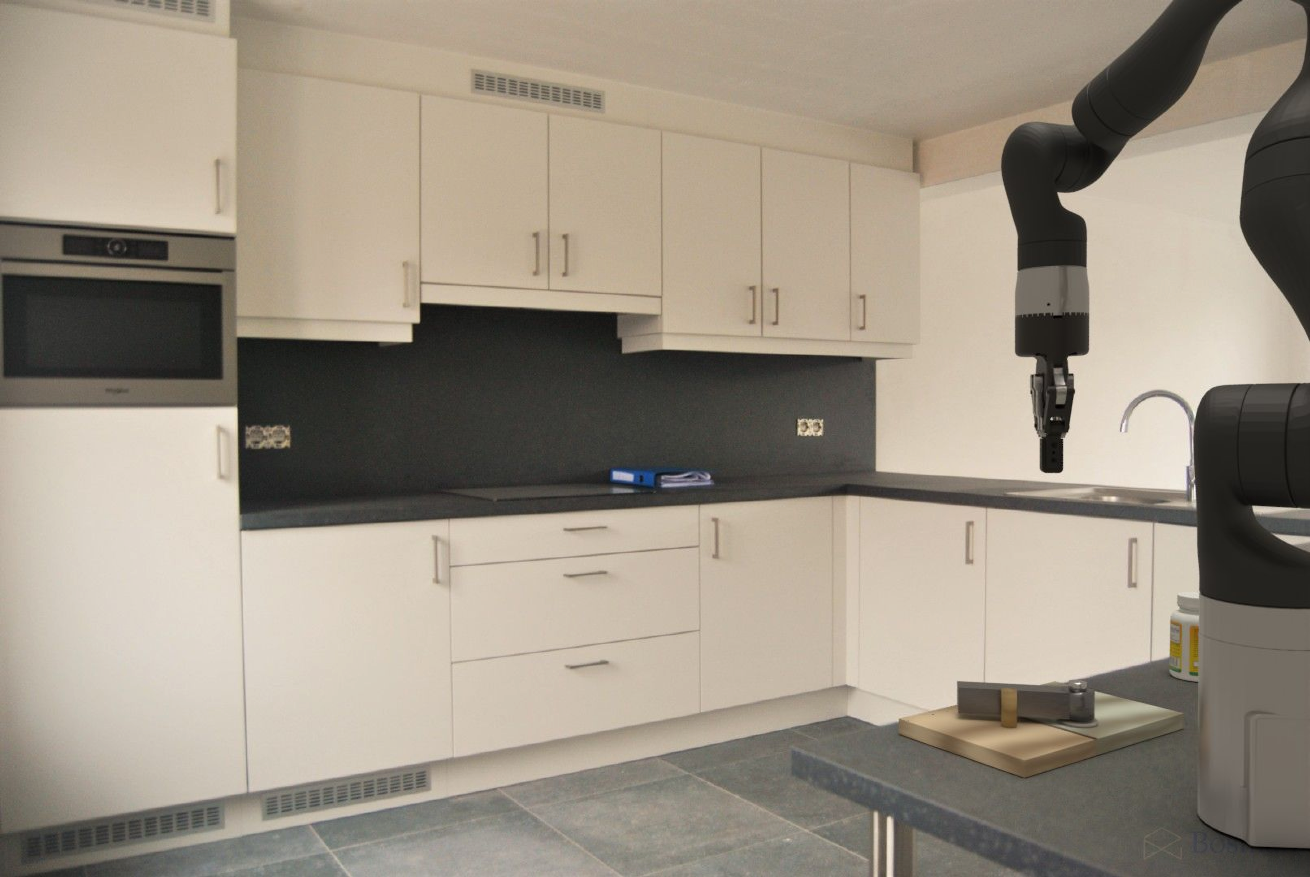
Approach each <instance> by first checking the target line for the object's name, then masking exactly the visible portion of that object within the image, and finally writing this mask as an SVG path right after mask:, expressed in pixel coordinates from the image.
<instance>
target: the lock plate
mask: <svg viewBox="0 0 1310 877" xmlns="http://www.w3.org/2000/svg"><path fill="white" fill-rule="evenodd" d="M1041 685H1047V686H1069V683H1063V682H1060V681H1056V680H1055V681H1051V682H1047V683H1042V684H1041ZM1094 691H1095V719H1094V720H1090V721H1076V720H1070V719H1053V718H1035V717H1017V690H1015V689H1010V688H1004V689H1001V716H1000V715H982V714H964V713H958V709H957V704H955V705H951V706H950V705H949V706H945V707H942V708H938V709H934V710H929V711H926V712H922V713H916V714H913V715H909V716H903V717H901V718H898V735H901V736H904V737H907V738H910V739H913V740H915V741H918V742H921V743H924V744H927V745H929V746H932V747H936V748H938V749H941V750H944V751H947V752H949V753H952V754H956V755H958V756H960V757H964V758H967V759H970V760H972V761H976V762H978V763H981V764H983V765H987V766H990V767H992V768H994V769H995V768H996V769H998V770H1001V771H1004V772H1007V773H1010V774H1013V775H1014V776H1018V777H1022V778H1024V779H1025V778H1029V777H1032V776H1035V775H1038V774H1041V773H1045V772H1048V771H1051V770H1054V769H1058V768H1060V767H1063V766H1067V765H1070V764H1073V763H1077V762H1081V761H1083V760H1087V759H1090V758H1093V757H1096V756H1100V755H1102V754H1106V753H1108V752H1112V751H1116V750H1119V749H1121V748H1125V747H1128V746H1132V745H1135V744H1138V743H1141V742H1145V741H1147V740H1151V739H1155V738H1158V737H1160V736H1163V735H1167V734H1170V733H1173V732H1176V731H1177V732H1178V731H1180V730H1183V729H1184V712H1180V711H1176V710H1172V709H1168V708H1163V707H1160V706H1156V705H1151V704H1148V703H1144V702H1139V701H1135V700H1132V699H1127V698H1123V697H1120V696H1116V695H1112V694H1107V693H1103V692H1100V691H1096V690H1094ZM947 711H948V712H947ZM932 714H934V715H932ZM908 720H909V721H908Z"/></svg>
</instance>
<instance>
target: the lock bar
mask: <svg viewBox="0 0 1310 877" xmlns="http://www.w3.org/2000/svg"><path fill="white" fill-rule="evenodd" d="M1068 685H1069V686H1047V685H1042V684H1023V683H1021V684H1020V683H1005V682H983V681H963V680H962V681H961V680H957V681H956V705H957V709H958V713H964V714H982V715H1000V716H1001V689H1004V688H1010V689H1015V690H1017V717H1035V718H1053V719H1070V720H1076V721H1090V720H1094V719H1095V691H1096V690H1094V689H1092V688H1090V687H1088V681H1085V680H1082V679H1069V680H1068Z"/></svg>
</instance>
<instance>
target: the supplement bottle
mask: <svg viewBox="0 0 1310 877" xmlns="http://www.w3.org/2000/svg"><path fill="white" fill-rule="evenodd" d="M1199 592H1200V591H1198V592H1197V591H1182V592H1178V593H1177V595H1176V596H1177V598H1176V600H1177V601H1176V605H1177V607H1179V609H1176V610H1173V612H1172V613H1171V615H1170V618H1169V619H1170V621H1169V624H1170V625H1169V626H1170V627H1169V664H1168V665H1169V666H1168V667H1169V670H1168V671H1169V673H1170V675H1171V676H1172V677H1174V678H1176V679H1180V680H1182V681H1187V682H1188V681H1189V682H1193V683H1194V682H1198V649H1199Z"/></svg>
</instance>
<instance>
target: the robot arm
mask: <svg viewBox="0 0 1310 877" xmlns="http://www.w3.org/2000/svg"><path fill="white" fill-rule="evenodd" d="M1290 1H1292V2H1293V3H1295V4H1297V5H1299V6H1302V9H1303V10H1304V11H1305V12H1304V13H1305V15H1306V16H1305V17H1306V24H1307V25H1306V27H1307V28H1306V30H1307V31H1306V44H1305V49H1304V50H1305V51H1304V58H1303V62H1302V65H1301V69H1300V71H1299V74H1298V75H1297V77H1296V79H1295V80H1294V81H1293V82H1292V84H1291V85H1290V86H1289V87H1288V88H1287V89H1286V91H1284V93H1283V94H1282V95H1281V96H1280V97H1279V99H1277V101H1276V102H1275V103H1274V104H1273V106H1271V108H1270V109H1269V110H1268V112H1267V113H1266V114H1265V115H1264V116H1263V118H1262V119H1261V121H1260V122H1259V123H1258V125H1257V126H1256V128H1255V129H1254V131H1253V133H1252V135H1251V137H1250V139H1249V142H1248V145H1247V148H1246V152H1245V157H1244V164H1243V172H1242V175H1243V176H1242V183H1241V184H1242V185H1241V194H1240V203H1239V204H1240V205H1239V215H1238V216H1239V227H1240V229H1241V232H1242V235H1243V238H1244V240H1245V242H1246V244H1247V246H1248V247H1249V250H1250V251H1251V252H1252V254H1253V256H1254V258H1255V259H1256V261H1257V262H1258V263H1259V265H1260V266H1261V268H1262V269H1263V270H1264V271H1265V273H1266V274H1267V275H1268V276H1269V278H1270V279H1271V282H1273V283H1274V284H1275V286H1276V287H1277V289H1278V290H1279V291H1280V292H1281V293H1282V295H1283V296H1284V298H1285V299H1286V301H1287V303H1288V304H1289V305H1290V307H1291V308H1292V310H1293V312H1294V314H1295V315H1296V317H1297V320H1298V321H1299V322H1300V325H1301V327H1302V328H1303V331H1304V333H1305V334H1306V337H1307V338H1308V341H1309V342H1310V0H1290ZM1241 2H1243V0H1172V1H1171V2H1170V3H1169V4H1168V5H1167V6H1166V8H1165V9H1164V10H1163V11H1162V13H1161V14H1160V15H1159V16H1158V18H1157V19H1155V21H1154V22H1152V24H1151V25H1150V26H1149V27H1148V28H1147V29H1146V30H1145V31H1144V33H1143V34H1142V35H1140V36H1139V38H1138V39H1137V40H1135V41H1134V42H1133V43H1132V44H1131V45H1130V46H1129V47H1128V48H1127V49H1126V50H1125V51H1123V52H1122V53H1121V54H1120V55H1118V56H1117V57H1116V58H1115V59H1114V60H1112V62H1111V63H1110V64H1108V65H1107V66H1106V67H1105V68H1104V69H1102V71H1100V72H1099V73H1098V74H1097V75H1096V76H1095V77H1094V78H1092V79H1091V80H1090V81H1089V82H1088V83H1087V84H1086V85H1084V87H1082V89H1081V90H1080V91H1079V92H1078V93H1077V94H1076V96H1075V97H1074V99H1073V101H1072V105H1071V117H1072V122H1073V124H1071V125H1069V124H1060V123H1052V122H1044V121H1029V122H1024V123H1022V124H1020V125H1018V126H1017V127H1016V128H1014V129H1013V131H1012V132H1010V134H1009V136H1008V137H1007V140H1006V141H1005V144H1004V146H1003V150H1002V154H1001V162H1000V169H1001V170H1000V172H1001V178H1002V183H1003V187H1004V190H1005V194H1006V199H1007V201H1008V205H1009V209H1010V214H1011V217H1012V221H1013V224H1014V226H1015V230H1016V233H1017V248H1016V250H1017V251H1016V252H1017V256H1016V257H1017V268H1016V269H1017V272H1016V282H1015V290H1014V354H1015V355H1016V356H1017V357H1020V358H1033V359H1035V360H1036V363H1035V373H1034V374H1031V373H1030V374H1029V388H1030V390H1029V393H1030V395H1031V396H1030V397H1031V404H1032V414H1033V419H1034V420H1033V421H1034V424H1033V425H1034V426H1033V427H1034V429H1035V431H1036V435H1037V438H1039V471H1041V472H1042V473H1044V474H1060V473H1062V472H1063V471H1064V439H1066V435H1067V434H1068V433H1069V430H1070V429H1071V428H1070V427H1071V426H1070V425H1071V417H1072V412H1073V404H1074V397H1075V394H1076V389H1075V374H1074V373H1070V372H1069V371H1070V370H1069V360H1068V359H1069V357H1080V356H1081V357H1082V356H1085V355H1088V353H1089V351H1090V284H1089V283H1090V282H1089V278H1088V277H1089V276H1088V263H1087V261H1088V260H1087V259H1088V244H1087V243H1088V228H1087V223H1086V221H1085V219H1084V217H1083V216H1081V215H1079V214H1078V213H1075V212H1073V211H1070V210H1068V209H1067V208H1066V207H1064V206H1063V205H1062V204H1063V203H1062V202H1061V199H1060V197H1059V194H1058V193H1062V194H1069V193H1070V194H1071V193H1077V192H1079V191H1082V190H1084V189H1086V188H1087V187H1089V186H1091V185H1092V184H1094V183H1096V182H1097V181H1098V180H1099V179H1101V178H1102V176H1103V175H1104V174H1105V173H1106V172H1107V170H1108V169H1109V168H1110V167H1111V165H1112V164H1113V162H1114V161H1115V160H1116V159H1117V157H1118V156H1119V155H1120V153H1121V152H1123V149H1124V148H1125V147H1126V145H1127V143H1128V142H1129V141H1130V139H1132V138H1133V137H1135V136H1136V135H1138V133H1140V132H1142V131H1143V130H1144V129H1146V127H1148V126H1149V125H1151V124H1152V123H1153V122H1154V121H1156V120H1157V119H1158V118H1160V117H1161V116H1163V114H1165V113H1166V112H1167V111H1168V110H1170V108H1172V107H1173V106H1174V105H1175V104H1176V103H1177V102H1179V100H1180V99H1181V98H1182V97H1183V96H1184V94H1185V93H1186V92H1187V91H1188V89H1189V88H1190V86H1191V84H1192V83H1193V81H1194V80H1195V77H1196V76H1197V74H1198V71H1199V68H1200V66H1201V64H1202V61H1203V58H1204V55H1205V52H1206V50H1207V47H1208V46H1209V42H1210V40H1211V37H1212V36H1213V34H1214V32H1215V31H1216V28H1217V26H1218V25H1219V24H1220V22H1221V21H1222V20H1223V19H1224V17H1225V16H1226V15H1227V14H1228V13H1229V12H1230V11H1231V10H1233V9H1234V8H1235V7H1236V6H1237V5H1239V4H1240V3H1241ZM1192 438H1193V439H1192V440H1193V441H1192V442H1193V446H1192V447H1193V469H1194V470H1193V473H1194V484H1195V485H1194V487H1195V500H1196V501H1195V503H1196V504H1195V506H1196V549H1197V561H1198V562H1197V563H1198V574H1199V575H1198V577H1199V579H1198V580H1199V582H1198V584H1199V585H1198V592H1199V649H1198V683H1197V696H1198V697H1197V815H1198V816H1199V818H1200V819H1201V821H1203V822H1204V823H1205V824H1207V825H1208V826H1210V827H1211V828H1213V829H1215V830H1217V831H1219V832H1222V833H1224V834H1227V835H1230V836H1233V837H1234V838H1238V839H1241V840H1243V841H1244V842H1246V843H1247V844H1248V845H1249V846H1251V847H1268V848H1269V847H1271V848H1292V849H1294V848H1297V849H1310V552H1309V551H1307V550H1305V549H1302V548H1300V547H1297V546H1295V545H1293V544H1291V543H1288V542H1287V541H1284V539H1281V538H1280V537H1278V536H1276V535H1274V534H1273V533H1272V532H1271V531H1269V530H1268V529H1266V528H1265V527H1264V526H1263V525H1262V524H1261V523H1260V522H1259V521H1258V519H1257V518H1256V515H1255V512H1254V508H1253V507H1264V508H1265V507H1268V508H1269V507H1271V508H1287V509H1302V510H1303V509H1305V510H1310V382H1285V383H1284V382H1282V383H1281V382H1280V383H1279V382H1278V383H1269V382H1268V383H1239V384H1238V383H1237V384H1235V383H1234V384H1220V385H1216V386H1213V387H1211V388H1209V389H1208V390H1207V391H1206V392H1205V393H1204V395H1203V396H1202V397H1201V399H1200V402H1199V403H1198V406H1197V408H1196V412H1195V417H1194V423H1193V437H1192Z"/></svg>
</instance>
